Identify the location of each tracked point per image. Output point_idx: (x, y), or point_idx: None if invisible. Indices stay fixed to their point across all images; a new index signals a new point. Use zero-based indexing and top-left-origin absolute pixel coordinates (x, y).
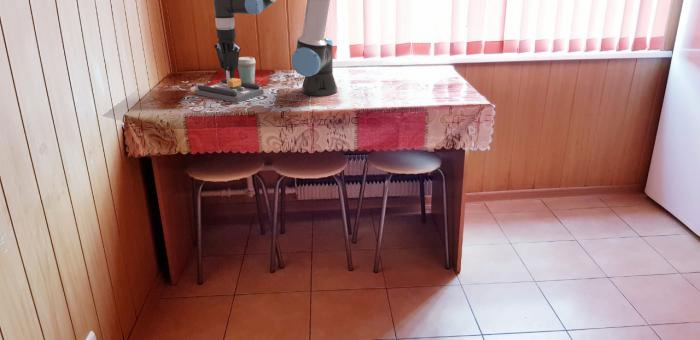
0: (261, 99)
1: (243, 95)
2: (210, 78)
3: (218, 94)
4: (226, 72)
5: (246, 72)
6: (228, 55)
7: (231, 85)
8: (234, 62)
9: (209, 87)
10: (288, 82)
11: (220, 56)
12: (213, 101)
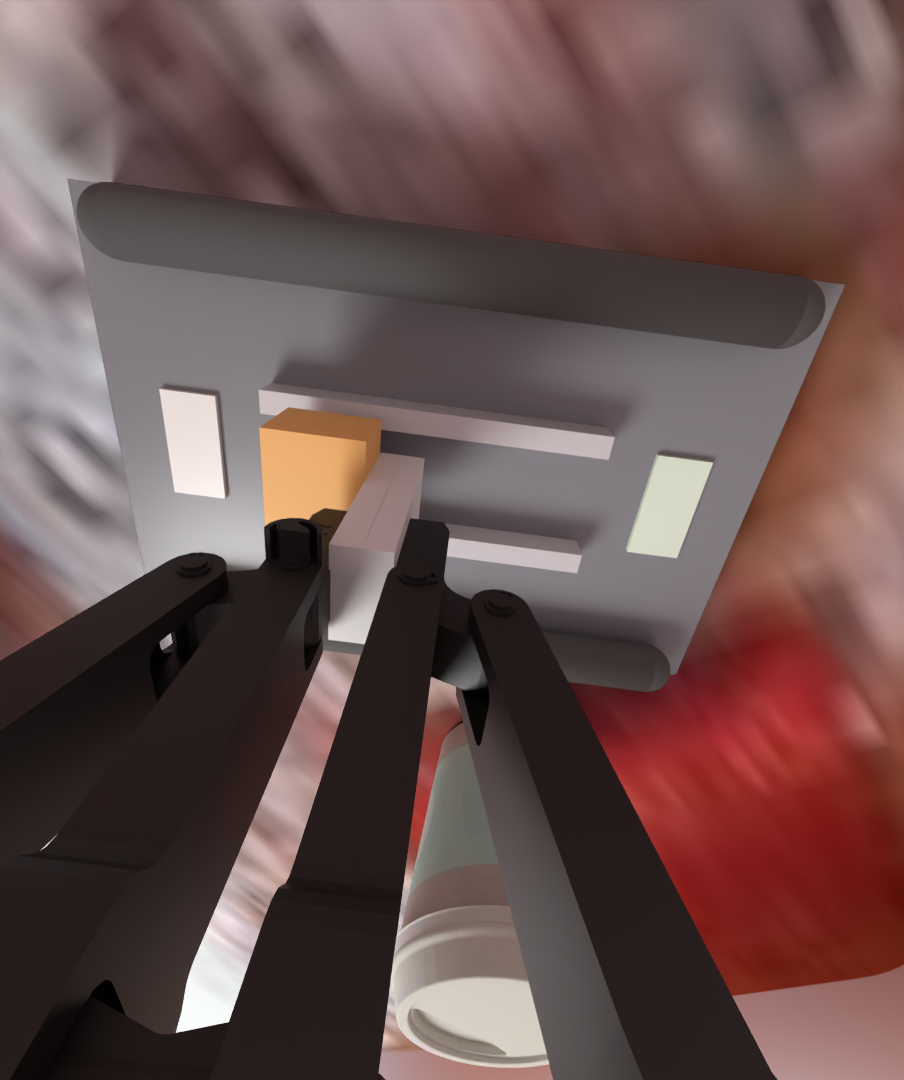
0: (34, 422)
1: (99, 315)
2: (896, 800)
3: None
4: (388, 536)
5: (452, 824)
6: (115, 825)
7: (306, 415)
8: (36, 647)
9: (591, 269)
10: (276, 859)
11: (536, 814)
12: (394, 69)
